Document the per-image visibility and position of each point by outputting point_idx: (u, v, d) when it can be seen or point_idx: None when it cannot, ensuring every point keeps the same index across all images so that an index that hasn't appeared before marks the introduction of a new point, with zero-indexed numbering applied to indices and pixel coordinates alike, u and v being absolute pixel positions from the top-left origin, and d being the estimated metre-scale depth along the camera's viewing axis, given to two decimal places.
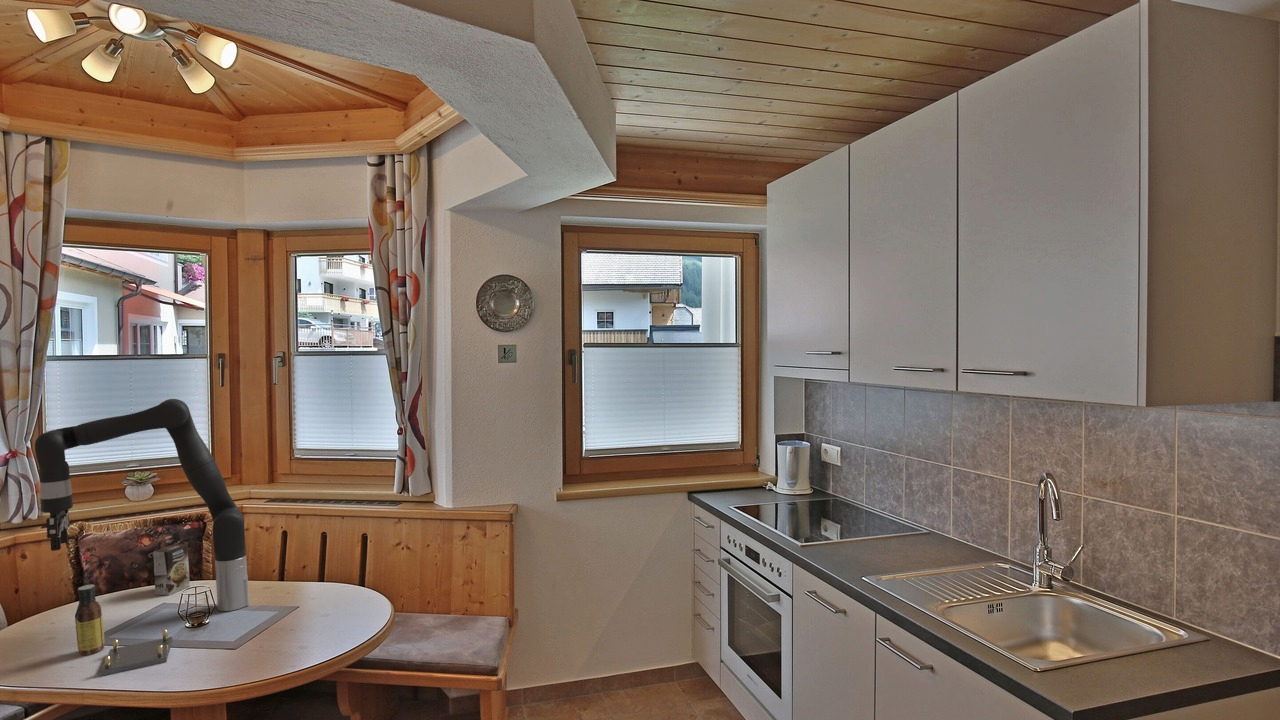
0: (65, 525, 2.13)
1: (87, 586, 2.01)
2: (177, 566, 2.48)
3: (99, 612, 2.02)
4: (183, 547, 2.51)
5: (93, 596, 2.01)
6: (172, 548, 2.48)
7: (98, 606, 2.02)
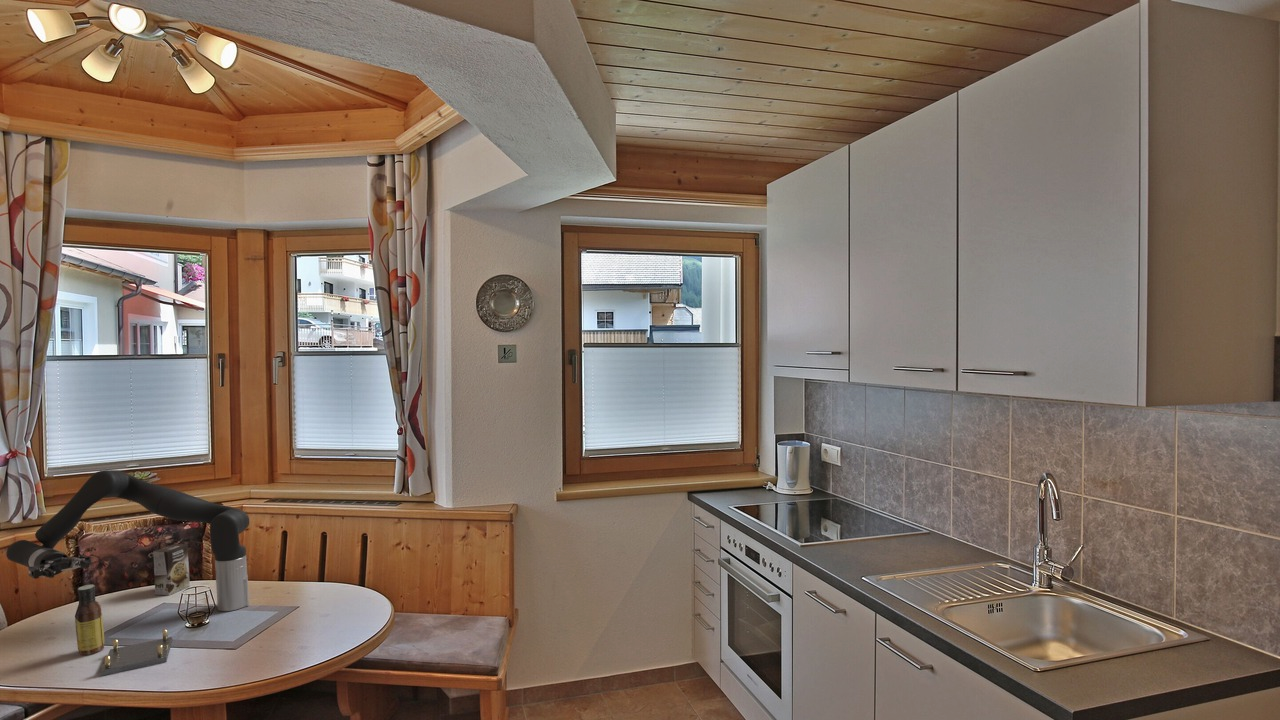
0: (73, 560, 2.12)
1: (87, 586, 2.01)
2: (177, 566, 2.48)
3: (99, 612, 2.02)
4: (183, 547, 2.51)
5: (93, 596, 2.01)
6: (172, 548, 2.48)
7: (98, 606, 2.02)
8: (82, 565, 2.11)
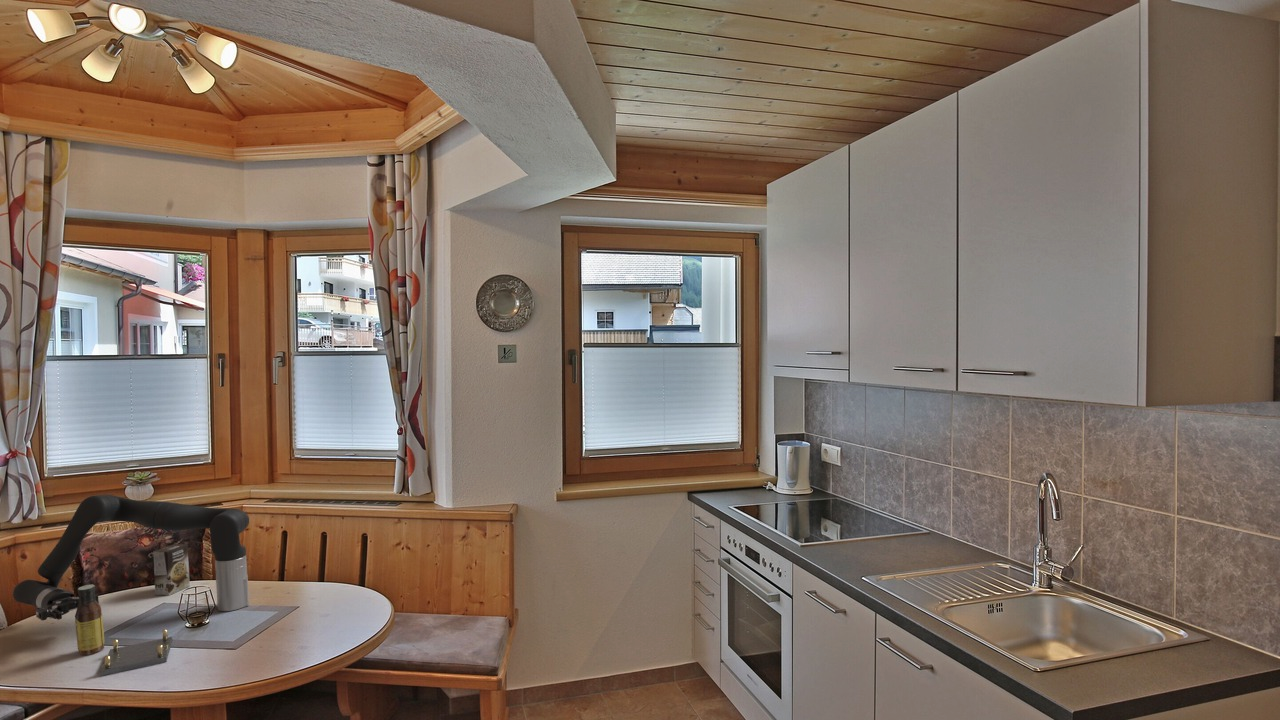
0: None
1: (87, 586, 2.01)
2: (177, 566, 2.48)
3: (99, 612, 2.02)
4: (183, 547, 2.51)
5: (93, 596, 2.01)
6: (172, 548, 2.48)
7: (98, 606, 2.02)
8: None
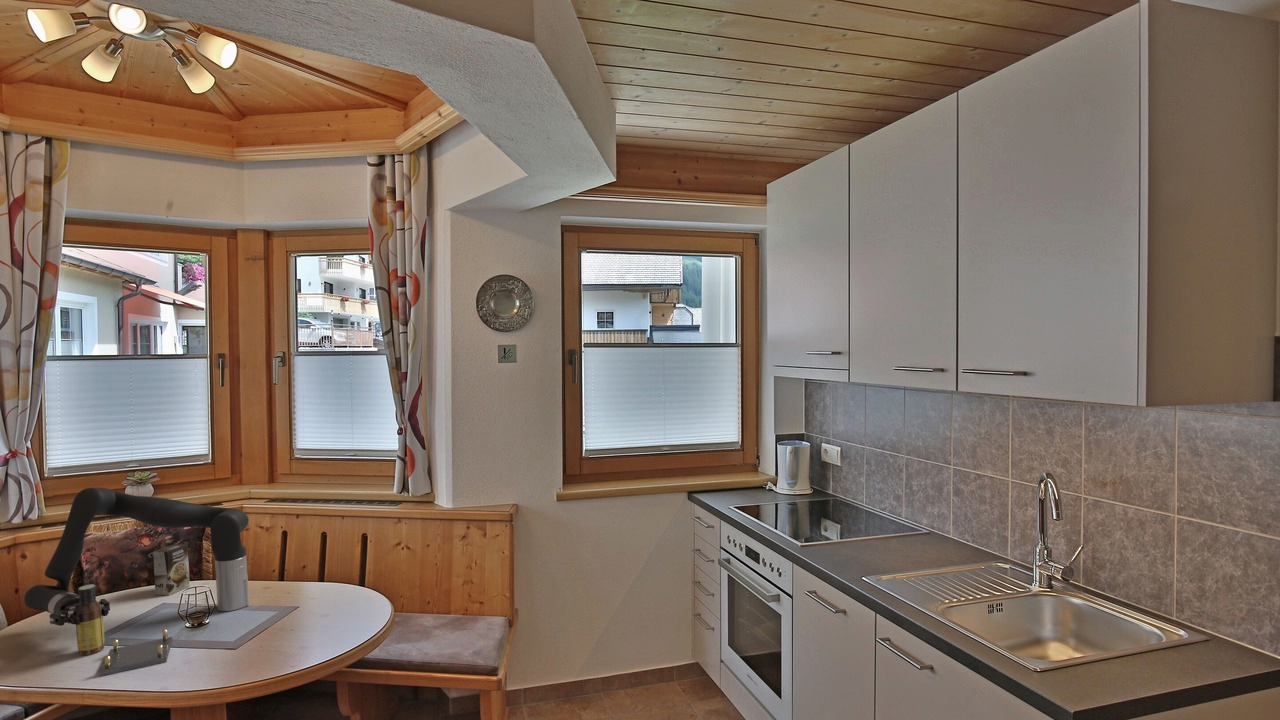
0: None
1: (88, 585, 2.01)
2: (177, 566, 2.48)
3: (99, 612, 2.02)
4: (183, 547, 2.51)
5: (93, 596, 2.01)
6: (172, 548, 2.48)
7: (98, 606, 2.02)
8: None
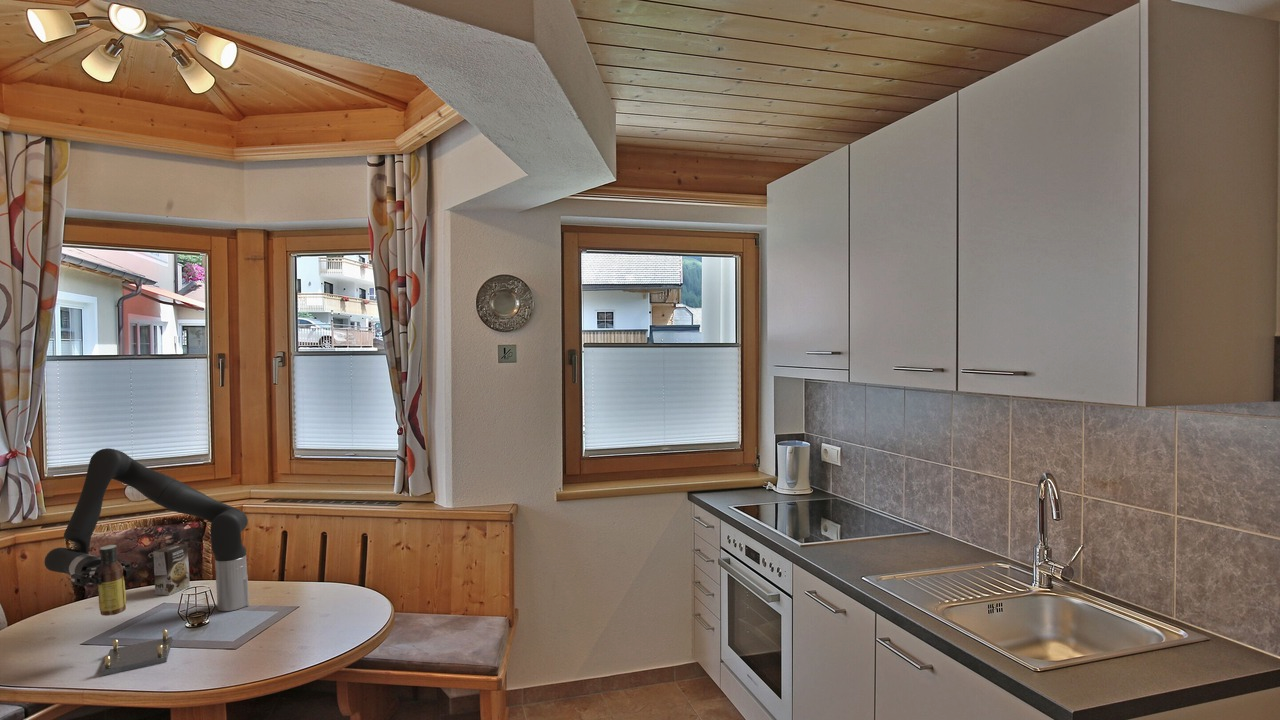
0: None
1: (109, 546, 1.98)
2: (177, 566, 2.48)
3: (121, 573, 1.99)
4: (183, 547, 2.51)
5: (115, 556, 1.98)
6: (172, 548, 2.48)
7: (120, 567, 1.99)
8: None
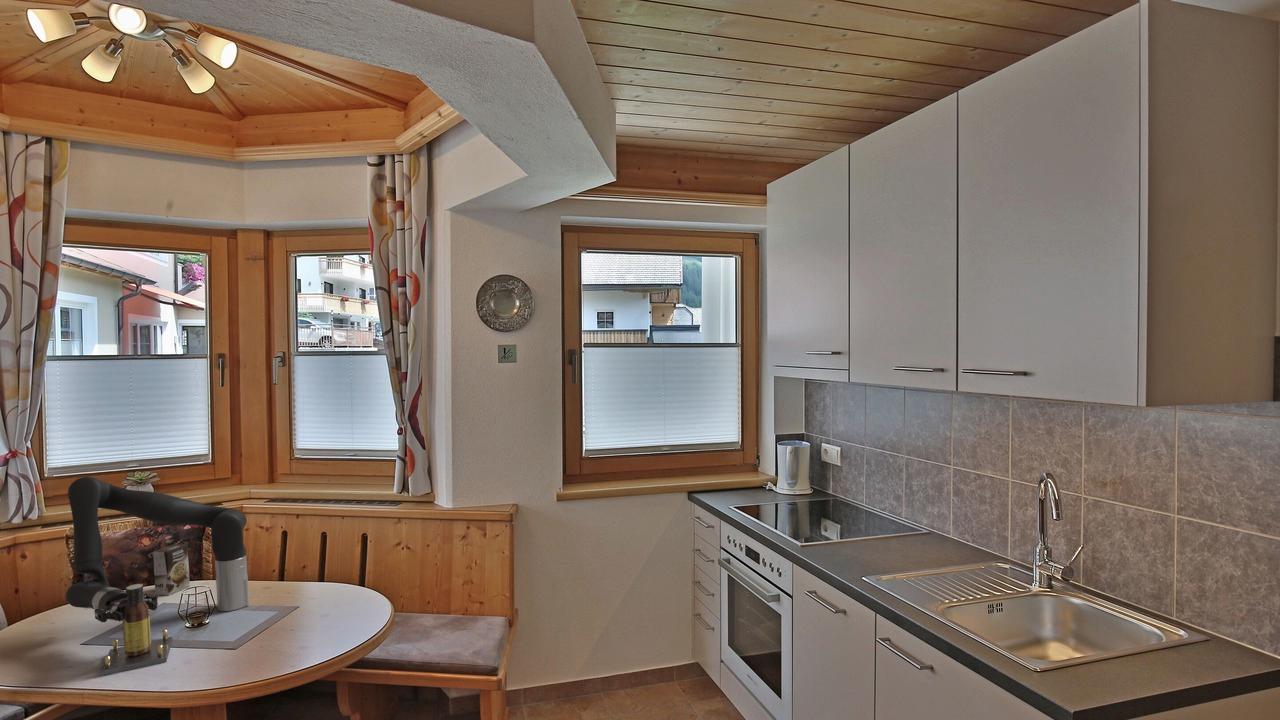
0: None
1: (136, 585, 1.96)
2: (177, 566, 2.48)
3: (147, 612, 1.97)
4: (183, 547, 2.51)
5: (141, 596, 1.96)
6: (172, 548, 2.48)
7: (146, 606, 1.97)
8: (149, 606, 2.00)
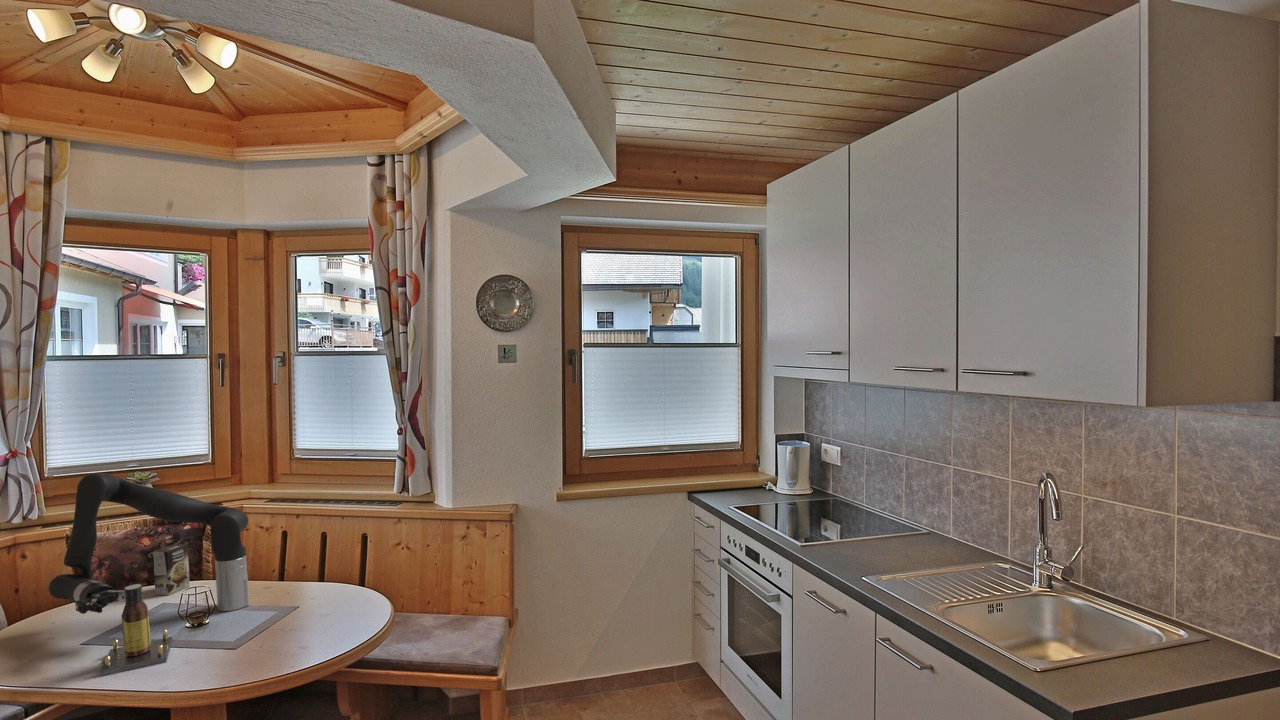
0: (120, 593, 2.07)
1: (134, 585, 1.96)
2: (177, 566, 2.48)
3: (146, 612, 1.97)
4: (183, 547, 2.51)
5: (140, 596, 1.96)
6: (172, 548, 2.48)
7: (145, 606, 1.97)
8: None
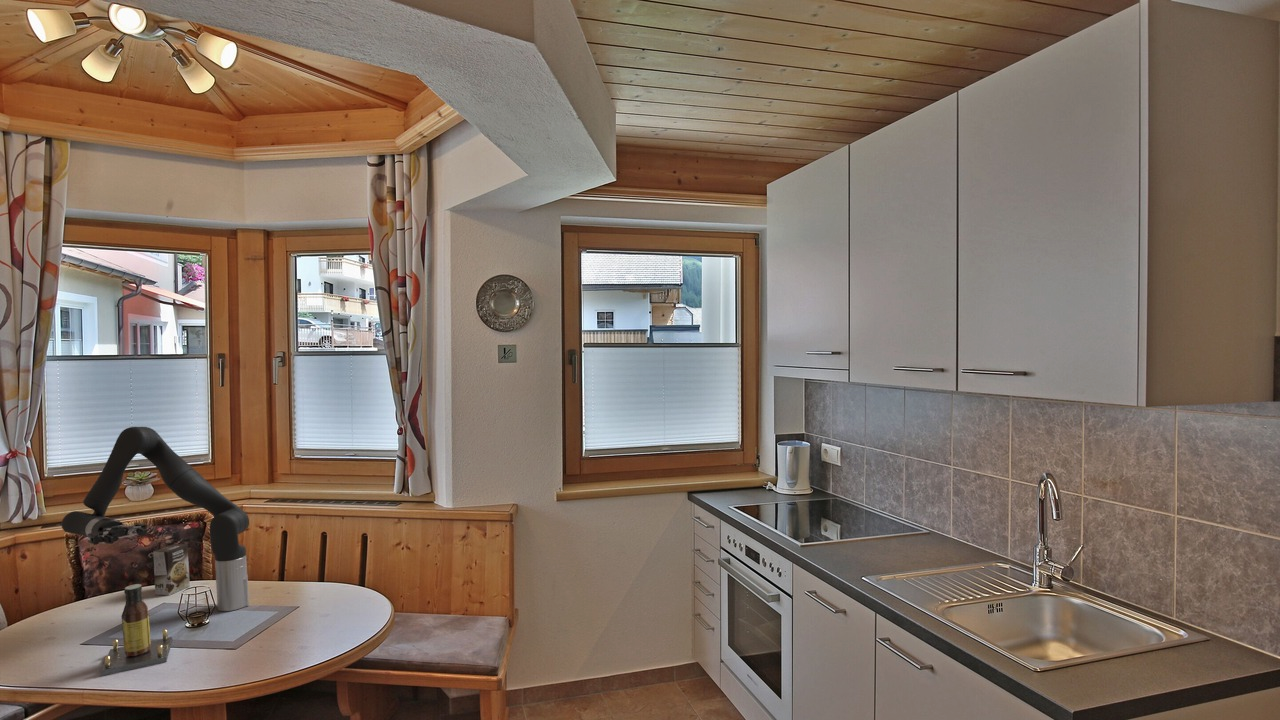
0: (130, 528, 2.15)
1: (134, 585, 1.96)
2: (177, 566, 2.48)
3: (146, 612, 1.97)
4: (183, 547, 2.51)
5: (140, 596, 1.96)
6: (172, 548, 2.48)
7: (145, 606, 1.97)
8: (139, 532, 2.14)
